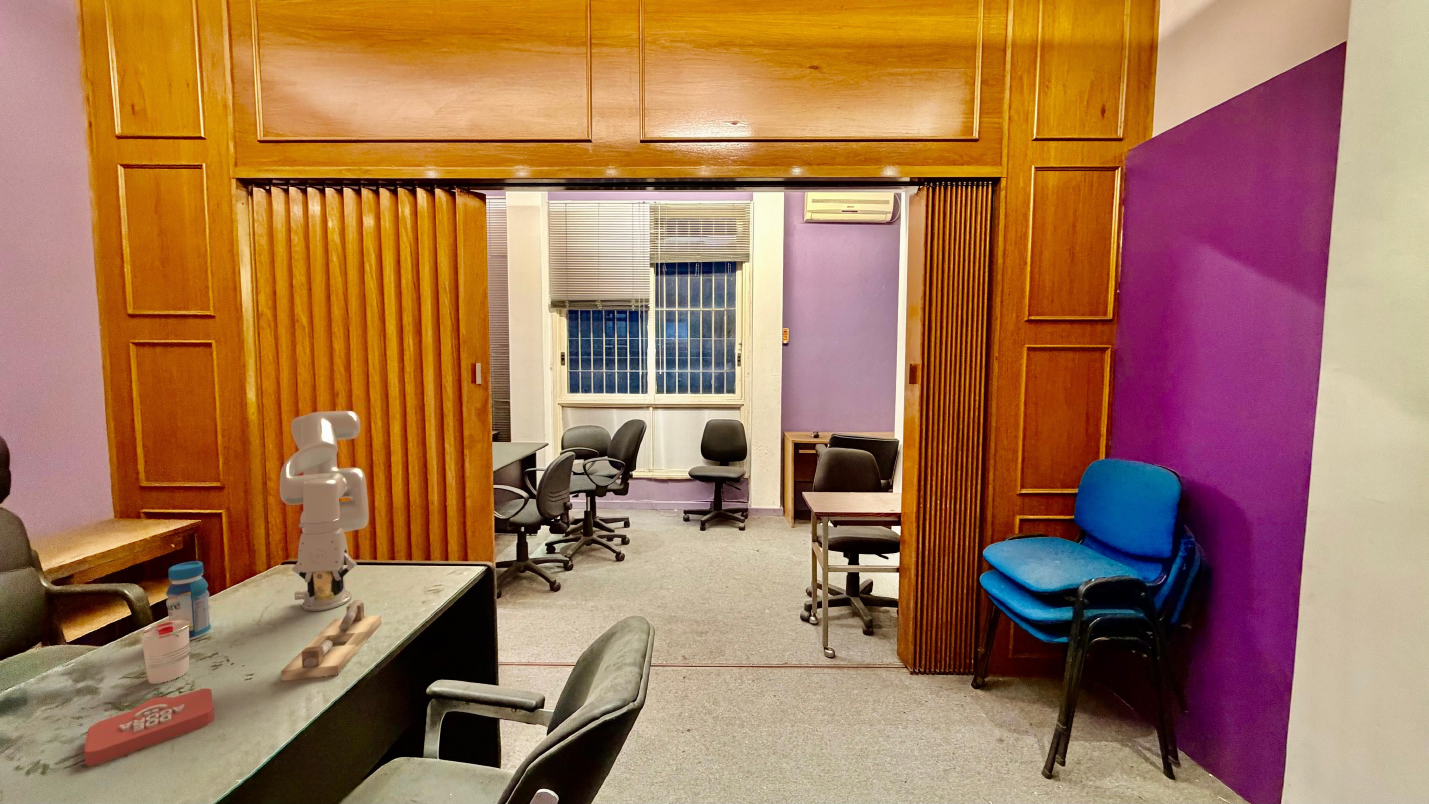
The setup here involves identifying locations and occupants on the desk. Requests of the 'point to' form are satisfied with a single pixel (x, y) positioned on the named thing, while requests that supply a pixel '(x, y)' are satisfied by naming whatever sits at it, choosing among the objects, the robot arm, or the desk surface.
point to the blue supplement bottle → (189, 597)
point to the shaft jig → (320, 652)
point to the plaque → (148, 725)
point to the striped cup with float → (166, 650)
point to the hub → (323, 586)
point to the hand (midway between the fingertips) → (326, 593)
